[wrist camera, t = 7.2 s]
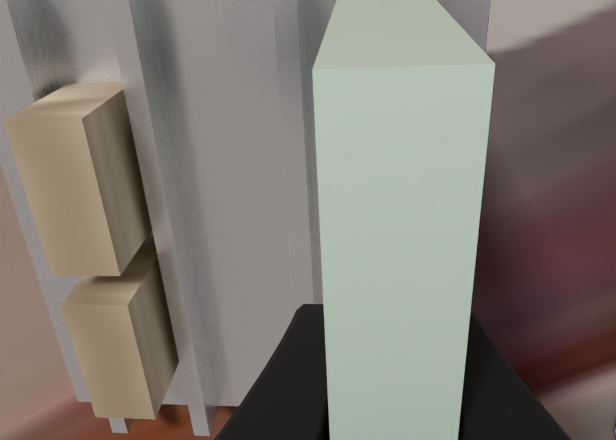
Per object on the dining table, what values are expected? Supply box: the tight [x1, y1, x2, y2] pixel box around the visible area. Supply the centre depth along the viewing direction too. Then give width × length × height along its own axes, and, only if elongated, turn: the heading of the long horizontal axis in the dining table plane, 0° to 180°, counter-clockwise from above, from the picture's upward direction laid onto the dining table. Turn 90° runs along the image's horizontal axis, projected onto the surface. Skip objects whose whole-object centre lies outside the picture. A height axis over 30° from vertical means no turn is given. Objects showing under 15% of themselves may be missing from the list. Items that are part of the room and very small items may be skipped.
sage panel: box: [312, 0, 495, 440], centre depth 10 cm, size 1×10×8 cm, turn 3°
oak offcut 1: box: [3, 82, 152, 276], centre depth 16 cm, size 2×4×4 cm, turn 3°
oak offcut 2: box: [61, 243, 179, 419], centre depth 19 cm, size 2×4×4 cm, turn 3°
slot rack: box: [0, 0, 490, 436], centre depth 18 cm, size 15×16×2 cm
